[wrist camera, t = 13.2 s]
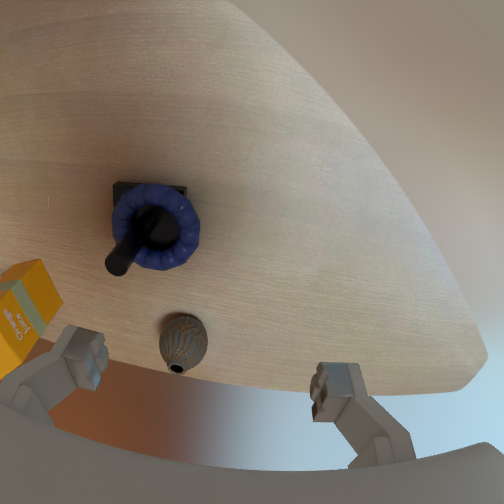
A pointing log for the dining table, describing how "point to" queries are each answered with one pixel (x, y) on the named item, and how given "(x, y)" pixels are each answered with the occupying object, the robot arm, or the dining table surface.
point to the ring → (174, 205)
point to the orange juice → (24, 311)
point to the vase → (183, 344)
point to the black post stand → (142, 231)
